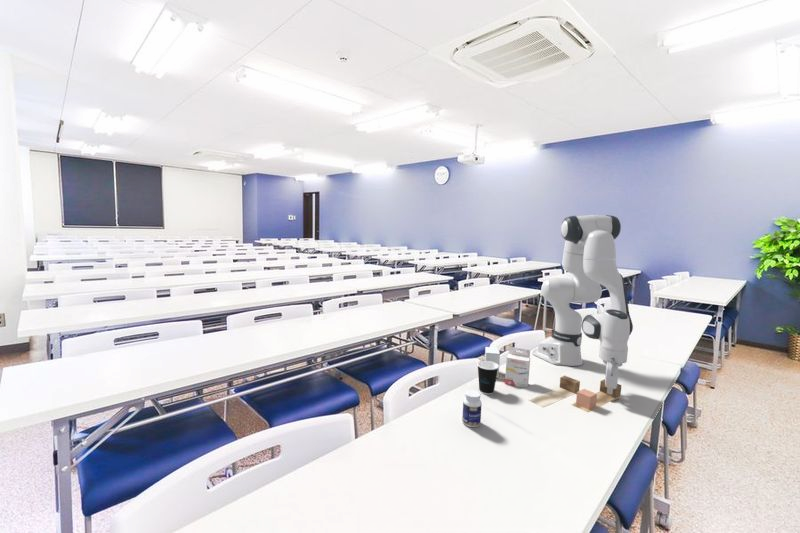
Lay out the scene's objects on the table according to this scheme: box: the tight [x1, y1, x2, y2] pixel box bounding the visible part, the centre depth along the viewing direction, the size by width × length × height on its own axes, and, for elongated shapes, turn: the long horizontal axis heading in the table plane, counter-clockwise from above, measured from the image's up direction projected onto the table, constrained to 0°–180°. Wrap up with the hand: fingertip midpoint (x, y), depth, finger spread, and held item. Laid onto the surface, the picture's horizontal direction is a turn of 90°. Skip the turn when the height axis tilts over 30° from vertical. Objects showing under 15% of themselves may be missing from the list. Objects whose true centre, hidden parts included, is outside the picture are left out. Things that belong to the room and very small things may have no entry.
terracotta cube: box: [575, 388, 597, 410], centre depth 125 cm, size 4×4×4 cm
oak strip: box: [570, 379, 622, 413], centre depth 129 cm, size 6×22×5 cm, turn 124°
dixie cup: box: [476, 360, 500, 395], centre depth 136 cm, size 8×8×11 cm
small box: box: [484, 346, 501, 379], centre depth 153 cm, size 8×6×10 cm
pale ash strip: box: [528, 375, 581, 408], centre depth 131 cm, size 6×22×5 cm, turn 124°
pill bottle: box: [461, 389, 482, 428], centre depth 115 cm, size 6×6×10 cm
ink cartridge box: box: [504, 346, 531, 389], centre depth 142 cm, size 9×5×15 cm, turn 65°
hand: (609, 390), depth 134 cm, fingers closed on oak strip, 4 cm apart
